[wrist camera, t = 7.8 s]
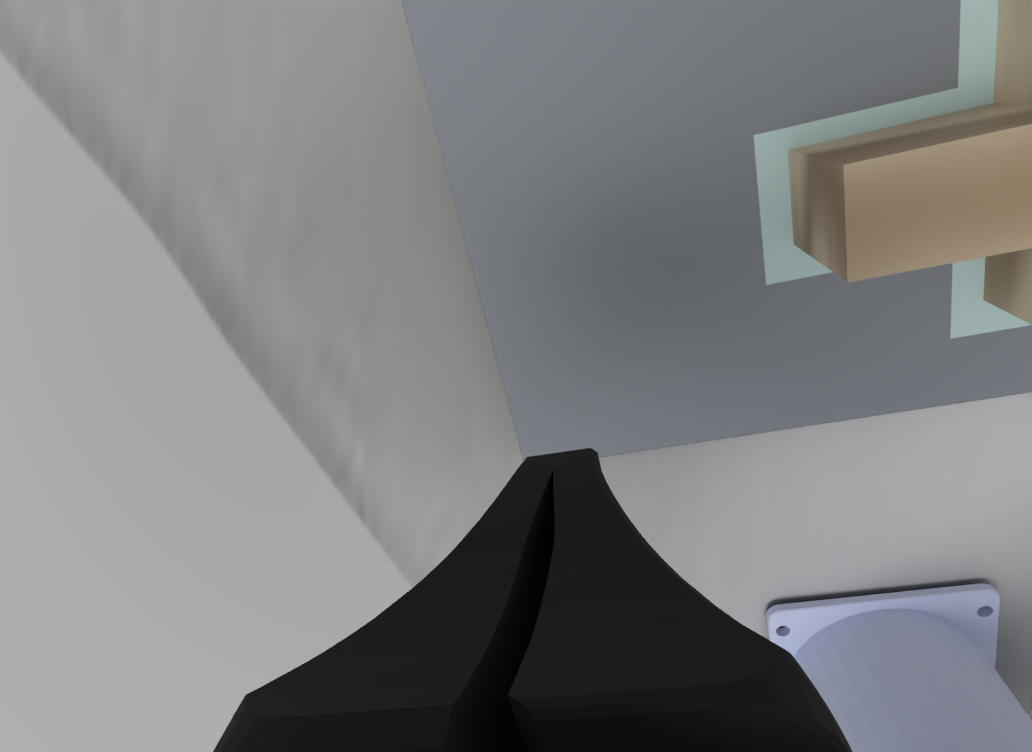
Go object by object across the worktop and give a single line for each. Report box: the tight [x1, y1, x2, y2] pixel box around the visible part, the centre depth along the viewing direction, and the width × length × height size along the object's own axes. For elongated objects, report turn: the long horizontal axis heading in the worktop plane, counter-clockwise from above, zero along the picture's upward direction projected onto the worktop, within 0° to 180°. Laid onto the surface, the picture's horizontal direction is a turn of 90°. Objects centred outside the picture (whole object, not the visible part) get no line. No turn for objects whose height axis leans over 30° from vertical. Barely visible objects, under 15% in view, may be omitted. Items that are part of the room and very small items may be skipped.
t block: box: [788, 0, 1032, 325], centre depth 15 cm, size 8×8×4 cm
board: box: [401, 0, 1032, 461], centre depth 18 cm, size 15×19×1 cm
